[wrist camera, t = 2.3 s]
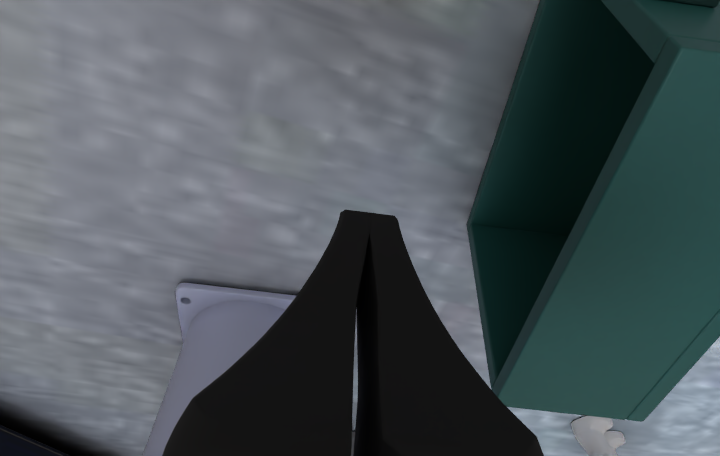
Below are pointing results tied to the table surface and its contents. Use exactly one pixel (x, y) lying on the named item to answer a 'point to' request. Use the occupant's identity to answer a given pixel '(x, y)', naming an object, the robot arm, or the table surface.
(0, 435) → the speaker
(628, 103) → the teal open crate
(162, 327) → the table surface
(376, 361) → the robot arm
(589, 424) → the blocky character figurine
